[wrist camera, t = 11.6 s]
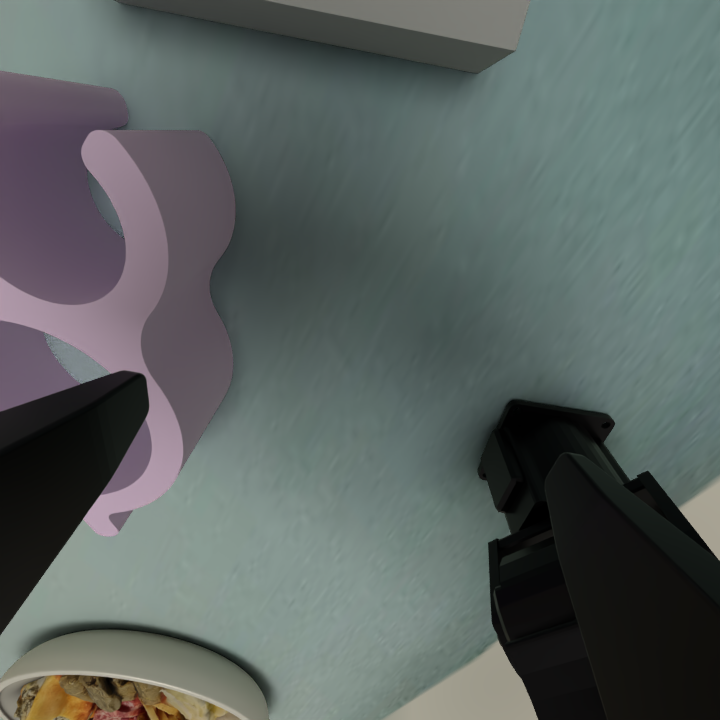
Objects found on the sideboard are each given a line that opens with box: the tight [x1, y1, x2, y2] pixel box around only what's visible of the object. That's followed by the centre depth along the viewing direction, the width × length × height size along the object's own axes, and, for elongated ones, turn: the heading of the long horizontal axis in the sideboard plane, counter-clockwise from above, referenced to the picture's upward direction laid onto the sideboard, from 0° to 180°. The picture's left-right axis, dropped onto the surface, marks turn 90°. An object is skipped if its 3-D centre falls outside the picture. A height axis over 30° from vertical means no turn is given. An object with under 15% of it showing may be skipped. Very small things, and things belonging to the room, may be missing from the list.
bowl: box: [0, 629, 269, 720], centre depth 44 cm, size 30×30×8 cm
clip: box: [0, 71, 236, 536], centre depth 18 cm, size 20×12×7 cm, turn 156°
